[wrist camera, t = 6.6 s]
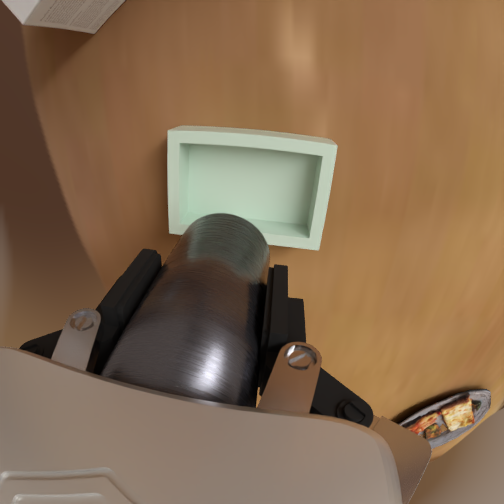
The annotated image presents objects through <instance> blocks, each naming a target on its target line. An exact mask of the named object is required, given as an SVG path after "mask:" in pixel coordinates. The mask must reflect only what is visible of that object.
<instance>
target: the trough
mask: <svg viewBox="0 0 504 504" xmlns="http://www.w3.org/2000/svg"><path fill="white" fill-rule="evenodd" d="M337 146H338V145H336V144H335V143H334V142H333V141H332V140H331V139H327V138H321V137H314V136H307V135H300V134H292V133H284V132H275V131H265V130H255V129H242V128H228V127H210V126H179V127H176V128H173V129H170V130H168V153H167V168H168V216H169V233H170V234H179V235H183V234H184V232H185V231H186V229H187V228H188V227H189V226H190V225H191V224H192V223H193V222H194V221H195V220H197V219H199V218H201V217H203V216H206V215H209V214H214V213H227V214H233V215H236V216H239V217H241V218H244V219H246V220H247V221H249V222H251V223H252V224H253V225H254V226H256V227H257V228H258V229H259V231H260V232H261V233H262V234H263V236H264V238H265V239H266V242H267V244H268V245H277V246H286V247H294V248H303V249H311V250H319V247H320V242H321V237H322V232H323V227H324V222H325V216H326V211H327V206H328V200H329V195H330V189H331V183H332V177H333V171H334V165H335V159H336V152H337Z"/></svg>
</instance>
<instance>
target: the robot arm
mask: <svg viewBox="0 0 504 504" xmlns="http://www.w3.org/2000/svg"><path fill="white" fill-rule="evenodd" d="M161 268H162V264H161V255H160V254H157V251H156V250H150V249H143V250H142V251H141V252H140V253H139V254H138V256H137V257H136V258H135V259H134V261H133V262H132V263H131V265H130V266H129V267H128V268H127V270H126V271H125V272H124V274H123V275H122V276H120V277H119V279H118V280H117V281H116V282H115V284H114V285H113V286H112V288H111V289H110V290H109V292H108V293H107V295H106V296H105V297H104V299H103V300H102V301H101V303H100V304H99V305H98V307H97V308H96V310H94V309H89V308H85V309H80V310H77V311H75V312H73V313H72V314H71V315H70V316H69V317H68V319H67V321H66V323H65V326H64V328H63V329H62V330H59V331H56V332H53V333H51V334H47V335H45V336H42V337H39V338H36V339H33V340H30V341H28V342H26V343H24V344H23V345H22V346H21V347H20V348H19V349H17V348H10V347H0V504H408V503H409V501H410V499H411V497H412V495H413V493H414V491H415V489H416V487H417V485H418V483H419V481H420V479H421V477H422V475H423V473H424V471H425V468H426V466H427V464H428V462H429V460H430V457H431V453H432V450H431V445H430V444H429V442H428V441H427V440H426V439H425V438H423V437H422V436H420V435H418V434H416V433H414V432H412V431H410V430H408V429H406V428H404V427H402V426H400V425H398V424H396V423H394V422H392V421H391V420H389V419H387V418H385V417H383V416H381V418H379V417H377V416H375V415H373V411H372V409H371V407H370V406H369V405H368V404H367V403H366V402H365V401H364V400H363V399H361V398H360V397H359V396H357V395H356V394H355V393H353V392H352V391H351V390H349V389H348V388H347V387H345V386H344V385H343V384H342V383H340V382H339V381H338V380H336V379H335V378H334V377H332V376H331V375H330V374H329V373H327V372H326V371H325V370H323V369H322V368H321V363H322V357H321V355H320V352H319V351H318V350H317V349H316V348H315V347H313V346H312V345H310V344H307V343H306V333H305V317H304V302H303V299H298V298H288V266H284V265H276V264H274V268H271V267H269V269H268V277H267V285H266V295H265V305H264V316H263V326H262V336H261V346H260V371H259V381H258V387H260V392H259V395H260V396H261V400H260V402H259V405H258V407H257V408H253V407H245V406H238V405H230V404H224V403H217V402H211V401H205V400H200V399H194V398H189V397H184V396H179V395H174V394H169V393H165V392H160V391H156V390H151V389H147V388H143V387H139V386H135V385H131V384H128V383H124V382H120V381H117V380H113V379H110V378H106V377H103V376H99V375H100V373H101V371H102V369H103V367H104V365H105V364H106V362H107V360H108V358H109V356H110V354H111V353H112V351H113V349H114V347H115V345H116V344H117V342H118V340H119V338H120V336H121V335H122V333H123V331H124V329H125V328H126V326H127V324H128V322H129V321H130V319H131V317H132V316H133V314H134V312H135V311H136V309H137V307H138V305H139V304H140V302H141V300H142V299H143V297H144V295H145V294H146V292H147V290H148V289H149V287H150V286H151V284H152V282H153V281H154V279H155V277H156V276H157V274H158V273H159V271H160V269H161Z"/></svg>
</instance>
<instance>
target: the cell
mask: <svg viewBox="0 0 504 504" xmlns="http://www.w3.org/2000/svg"><path fill="white" fill-rule="evenodd" d="M269 262H270V253H269V247H268V244H267V242H266V239H265V238H264V236H263V234H262V233H261V232H260V231H259V229H258V228H257V227H256V226H254V225H253V224H252V223H251V222H249V221H247V220H246V219H244V218H241V217H239V216H236V215H233V214H227V213H214V214H209V215H206V216H203V217H201V218H199V219H197V220H195V221H194V222H193V223H192V224H191V225H190V226H189V227H188V228H187V229H186V231H185V232H184V234H183V235H182V237H181V238H180V240H179V241H178V243H177V244H176V246H175V247H174V249H173V250H172V252H171V254H170V255H169V257H168V258H167V260H166V261H165V263H164V265H163V266H162V268H161V269H160V271H159V273H158V274H157V276H156V277H155V279H154V281H153V282H152V284H151V286H150V287H149V289H148V290H147V292H146V294H145V295H144V297H143V299H142V300H141V302H140V304H139V305H138V307H137V309H136V311H135V312H134V314H133V316H132V317H131V319H130V321H129V322H128V324H127V326H126V328H125V329H124V331H123V333H122V335H121V336H120V338H119V340H118V342H117V344H116V345H115V347H114V349H113V351H112V353H111V354H110V356H109V358H108V360H107V362H106V364H105V365H104V367H103V369H102V371H101V373H100V375H99V376H103V377H106V378H110V379H113V380H117V381H120V382H124V383H128V384H131V385H135V386H139V387H143V388H147V389H151V390H156V391H160V392H165V393H169V394H174V395H179V396H184V397H189V398H194V399H200V400H205V401H211V402H217V403H224V404H230V405H238V406H245V407H253V408H256V400H257V390H258V381H259V371H260V346H261V336H262V326H263V316H264V305H265V295H266V285H267V277H268V269H269Z"/></svg>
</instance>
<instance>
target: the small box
mask: <svg viewBox="0 0 504 504" xmlns="http://www.w3.org/2000/svg"><path fill="white" fill-rule="evenodd" d="M1 1H3V3H4V4H5V5H6V6H7V7H8V9H9V10H10V11H11V12H12V13H13V14H14V15H15V16H16V18H17V19H18V20H19V21H20V22H21V23H22V25H29V26H41V27H50V28H60V29H67V30H73V31H80V32H86V33H91V34H95V33H96V32H97V30H98V29H99V28H100V27H101V26H102V25H103V24H104V23H105V21H106V20H107V19H108V18H109V17H110V16H111V15H112V14H113V13H114V12H115V11H116V10H117V9H118V8H119V6H120V5H121V4H122V3H123V2H124V1H125V0H1Z"/></svg>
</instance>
